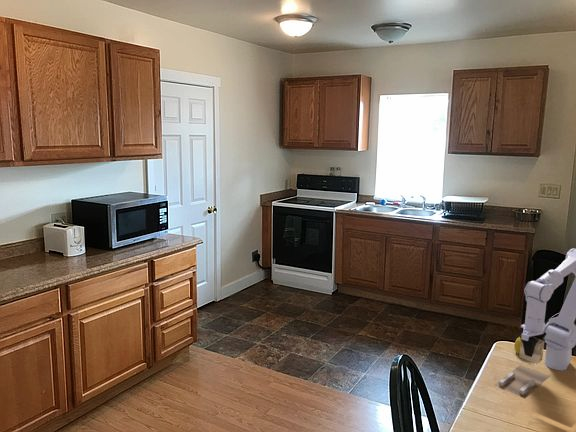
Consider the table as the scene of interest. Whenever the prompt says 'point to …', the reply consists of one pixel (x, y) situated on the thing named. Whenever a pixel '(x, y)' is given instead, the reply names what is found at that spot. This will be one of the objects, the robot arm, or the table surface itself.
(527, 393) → the board
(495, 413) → the table surface
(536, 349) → the block
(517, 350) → the lemon
